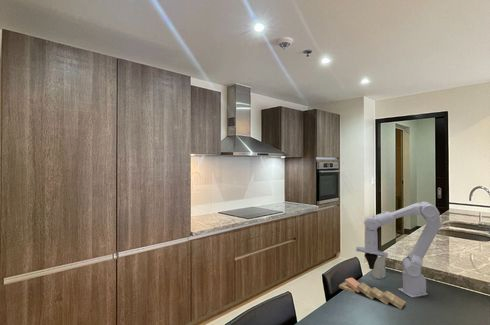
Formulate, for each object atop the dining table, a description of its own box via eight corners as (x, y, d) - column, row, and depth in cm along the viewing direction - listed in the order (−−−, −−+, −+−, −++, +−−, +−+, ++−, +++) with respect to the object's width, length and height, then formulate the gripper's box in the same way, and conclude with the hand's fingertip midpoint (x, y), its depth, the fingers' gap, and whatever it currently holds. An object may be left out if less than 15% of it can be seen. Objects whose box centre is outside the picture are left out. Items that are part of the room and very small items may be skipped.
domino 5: (405, 301, 118) (386, 290, 123) (402, 306, 114) (383, 294, 120) (404, 304, 118) (385, 293, 123) (401, 309, 114) (381, 297, 120)
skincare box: (379, 279, 143) (379, 257, 142) (371, 276, 146) (371, 254, 146) (386, 276, 146) (385, 254, 146) (378, 273, 150) (377, 252, 150)
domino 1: (359, 287, 132) (343, 282, 138) (354, 290, 129) (338, 285, 134) (359, 290, 132) (343, 285, 138) (354, 294, 129) (338, 288, 134)
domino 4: (392, 297, 121) (374, 286, 127) (388, 301, 118) (370, 290, 123) (391, 300, 122) (373, 289, 127) (387, 304, 118) (369, 293, 124)
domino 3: (378, 293, 125) (362, 282, 131) (373, 296, 122) (357, 285, 128) (377, 296, 126) (361, 284, 131) (372, 299, 122) (356, 288, 128)
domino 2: (365, 287, 130) (351, 277, 137) (358, 289, 127) (345, 279, 134) (364, 290, 130) (351, 280, 137) (357, 292, 128) (344, 281, 134)
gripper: (389, 242, 132) (389, 270, 132) (359, 236, 142) (360, 262, 142) (384, 246, 127) (385, 274, 127) (354, 239, 137) (354, 266, 137)
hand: (371, 268), depth 134 cm, fingers closed
